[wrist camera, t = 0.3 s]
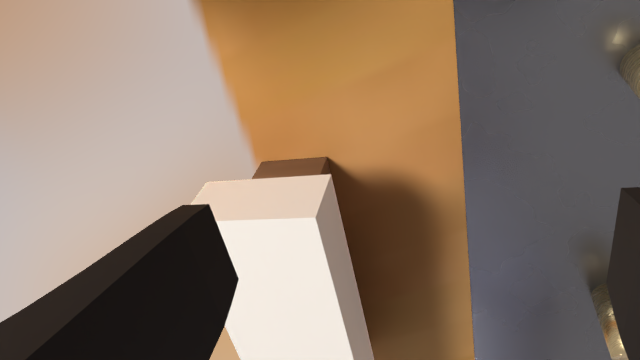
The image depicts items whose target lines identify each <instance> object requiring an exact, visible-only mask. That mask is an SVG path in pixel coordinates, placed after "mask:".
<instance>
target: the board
mask: <svg viewBox="0 0 640 360" xmlns="http://www.w3.org/2000/svg"><path fill="white" fill-rule="evenodd" d="M199 204H209V205H210V207H211V210H212V212H213V215H214V218H215V220H216V223H217V225H218V228H219V230H220V233H221V235H222V238H223V240H224V243H225V245H226V248H227V251H228V253H229V256H230V258H231V261H232V263H233V266H234V268H235V271H236V273H237V276H238V278H239V280H238V284H237V287H236V291H235V294H234V298H233V301H232V305H231V308H230V311H229V314H228V317H227V320H226V323H225V327H226V329H227V331H228V333H229V336H230V338H231V340H232V342H233V344H234V347H235V349H236V351H237V353H238V355H239V357H240V359H241V360H374V356H373V352H372V348H371V343H370V339H369V335H368V330H367V326H366V322H365V318H364V313H363V309H362V305H361V300H360V296H359V292H358V288H357V283H356V279H355V275H354V270H353V266H352V262H351V258H350V253H349V249H348V245H347V240H346V236H345V232H344V228H343V223H342V219H341V215H340V210H339V206H338V202H337V198H336V193H335V189H334V185H333V180H332V176H331V174H327V175H311V176H295V177H279V178H263V179H248V180H232V181H216V182H207V183H206V184H205V185H204V186H203V188H202V189H201V191H200V192H199V193H198V195H197V196H196V198H195V199H194V200H193V201H192V203H191V204H190V205H199Z"/></svg>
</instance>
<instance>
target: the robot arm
mask: <svg viewBox="0 0 640 360" xmlns="http://www.w3.org/2000/svg"><path fill="white" fill-rule="evenodd" d="M238 280H239V278H238V276H237V273H236V271H235V268H234V266H233V263H232V261H231V258H230V256H229V253H228V251H227V248H226V245H225V243H224V240H223V238H222V235H221V233H220V230H219V228H218V225H217V223H216V220H215V218H214V215H213V212H212V210H211V207H210V205H209V204H199V205H182V206H180V207H178V208H177V209H175V210H173V211H171V212H170V213H168V214H166V215H165V216H163V217H161V218H160V219H159V220H157V221H155V222H154V223H153V224H151V225H149V226H148V227H146V228H145V229H143V230H142V231H141V232H139V233H137V234H136V235H134V236H133V237H131V238H130V239H129V240H127V241H126V242H124V243H123V244H121V245H120V246H119V247H117V248H115V249H114V250H112V251H111V252H110V253H108V254H107V255H105V256H104V257H102V258H101V259H100V260H98V261H97V262H95V263H93V264H92V265H91V266H89V267H88V268H86V269H85V270H83V271H82V272H80V273H79V274H77V275H75V276H74V277H72V278H71V279H69V280H68V281H66V282H65V283H63V284H61V285H60V286H58V287H57V288H55V289H54V290H52V291H51V292H49V293H48V294H46V295H45V296H43V297H41V298H40V299H38V300H37V301H35V302H34V303H32V304H30V305H29V306H27V307H26V308H24V309H22V310H21V311H19V312H18V313H16V314H14V315H13V316H11V317H9V318H7V319H6V320H4V321H2V322H1V323H0V360H209V359H210V357H211V354H212V352H213V350H214V348H215V346H216V343H217V341H218V339H219V337H220V335H221V332H222V330H223V328H224V326H225V323H226V320H227V317H228V314H229V311H230V308H231V305H232V301H233V298H234V294H235V291H236V287H237V284H238ZM606 285H607V289H608V293H609V297H610V301H611V305H612V309H613V313H614V317H615V320H616V324H617V327H618V331H619V334H620V338H621V342H622V344H623V347H624V349H625V352H626V354H627V357H628V359H629V360H640V187H629V188H621V191H620V197H619V204H618V210H617V217H616V223H615V230H614V236H613V243H612V249H611V255H610V262H609V268H608V275H607V281H606Z"/></svg>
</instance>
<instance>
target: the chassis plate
mask: <svg viewBox="0 0 640 360" xmlns="http://www.w3.org/2000/svg"><path fill="white" fill-rule="evenodd" d="M453 3H454V19H455V36H456V53H457V69H458V86H459V103H460V119H461V136H462V153H463V169H464V186H465V203H466V219H467V236H468V253H469V269H470V286H471V303H472V319H473V336H474V353H475V360H629V359H628V357H627V354H626V352H625V349H624V347H623V344H622V342H621V338H620V334H619V331H618V327H617V324H616V320H615V317H614V313H613V309H612V305H611V301H610V297H609V293H608V289H607V285H606V281H607V275H608V268H609V262H610V255H611V249H612V243H613V236H614V230H615V223H616V217H617V210H618V204H619V197H620V191H621V188H629V187H640V0H453Z"/></svg>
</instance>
